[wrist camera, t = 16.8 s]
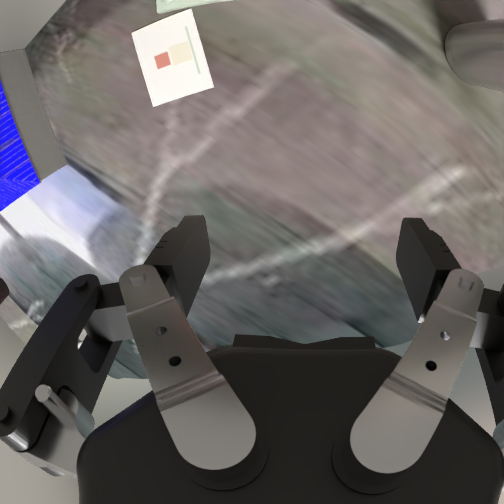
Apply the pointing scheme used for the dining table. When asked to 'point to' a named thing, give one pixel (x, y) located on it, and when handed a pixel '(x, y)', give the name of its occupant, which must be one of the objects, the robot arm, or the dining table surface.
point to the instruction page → (172, 58)
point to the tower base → (181, 4)
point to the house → (23, 131)
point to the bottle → (3, 291)
